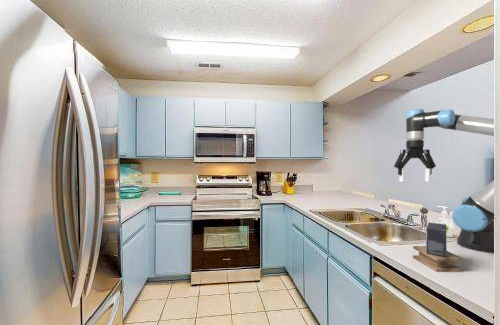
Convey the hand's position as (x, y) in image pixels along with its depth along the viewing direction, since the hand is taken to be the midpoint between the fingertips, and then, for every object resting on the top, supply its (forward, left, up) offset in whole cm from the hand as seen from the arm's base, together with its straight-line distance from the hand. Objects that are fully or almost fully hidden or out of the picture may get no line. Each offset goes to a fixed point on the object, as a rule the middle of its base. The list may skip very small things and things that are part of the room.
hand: (414, 181), depth 128 cm
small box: (+11, +29, -26) cm, 40 cm away
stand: (+11, +29, -30) cm, 43 cm away
